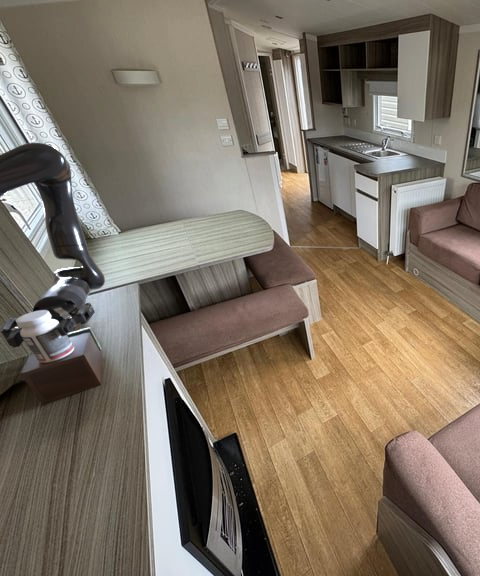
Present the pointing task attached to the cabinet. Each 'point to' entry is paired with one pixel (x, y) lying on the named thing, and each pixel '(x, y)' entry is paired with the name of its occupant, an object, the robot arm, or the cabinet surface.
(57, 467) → the cabinet surface
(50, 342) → the pill bottle
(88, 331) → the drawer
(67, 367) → the cabinet
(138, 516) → the cabinet surface
